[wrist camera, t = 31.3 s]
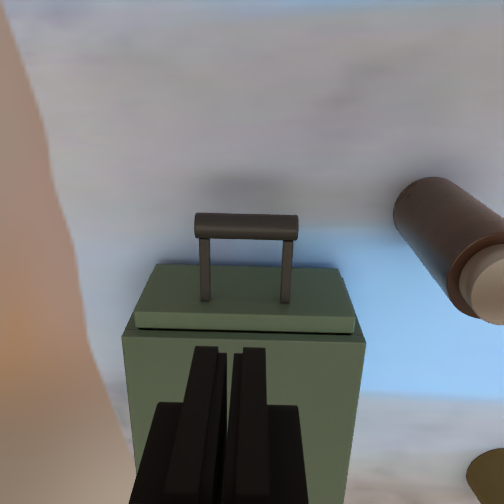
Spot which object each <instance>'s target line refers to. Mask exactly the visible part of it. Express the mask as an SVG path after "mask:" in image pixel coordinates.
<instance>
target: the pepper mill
mask: <svg viewBox="0 0 504 504" xmlns="http://www.w3.org/2000/svg"><path fill="white" fill-rule="evenodd" d="M393 217H394V223H395V226H396V228H397V230H398V231H399V233H400V234H401V235H402V237H403V238H404V239H405V241H406V242H407V243H408V245H409V246H410V247H411V249H412V250H413V251H414V253H415V254H416V255H417V257H418V258H419V259H420V261H421V262H422V263H423V265H424V266H425V267H426V269H427V270H428V271H429V273H430V274H431V275H432V277H433V278H434V279H435V281H436V282H437V283H438V285H439V286H440V287H441V289H442V290H443V291H444V293H445V294H446V296H447V297H448V298H449V300H450V301H451V302H452V303H453V305H454V306H455V307H456V308H457V309H458V310H459V311H461V312H462V313H464V314H466V315H468V316H471V317H474V318H479V319H482V320H484V321H486V322H488V323H491V324H496V325H504V218H502V217H501V216H499V215H498V214H497V213H495V212H494V211H492V210H491V209H490V208H488V207H487V206H485V205H484V204H483V203H481V202H480V201H478V200H477V199H475V198H474V197H473V196H471V195H470V194H468V193H467V192H466V191H464V190H463V189H461V188H460V187H459V186H457V185H456V184H454V183H453V182H451V181H449V180H447V179H445V178H440V177H428V178H424V179H420V180H418V181H416V182H414V183H412V184H411V185H409V186H408V187H407V188H406V189H405V190H404V191H403V192H402V193H401V194H400V196H399V197H398V199H397V201H396V204H395V207H394V213H393Z"/></svg>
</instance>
